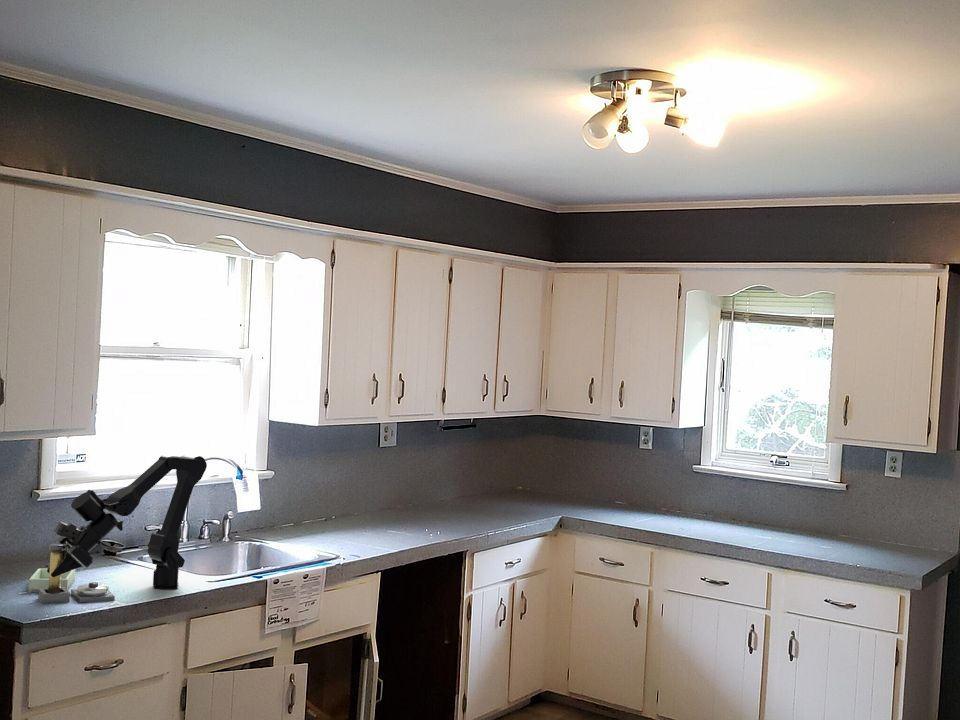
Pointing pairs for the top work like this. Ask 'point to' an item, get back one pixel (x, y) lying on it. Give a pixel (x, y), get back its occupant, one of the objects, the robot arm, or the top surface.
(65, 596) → the grey low boxy pieces
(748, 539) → the top surface
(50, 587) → the lock pin
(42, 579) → the tray
